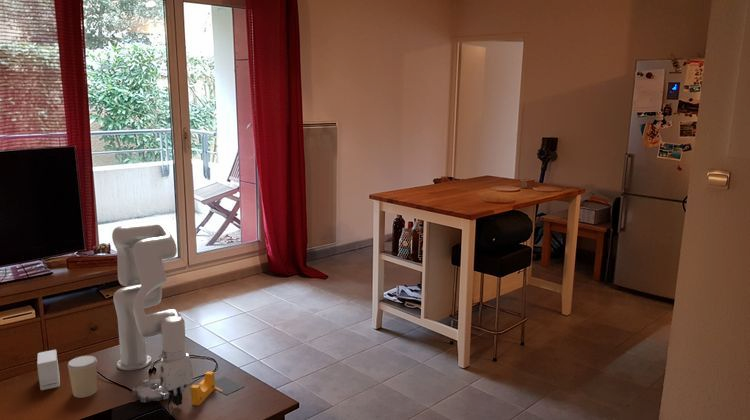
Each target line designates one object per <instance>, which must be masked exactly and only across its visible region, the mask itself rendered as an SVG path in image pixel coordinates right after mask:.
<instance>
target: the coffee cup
mask: <svg viewBox="0 0 750 420" xmlns="http://www.w3.org/2000/svg"><path fill="white" fill-rule="evenodd" d="M67 368H68V374H69V380H70V385H71V391H72V395H73V397H75V398H87V397H88V398H89V397H91V396H93V395H94V394H95V393H97V391H98V359H97V357H95V356H93V355H81V356H76V357H74V358H72V359H71V360H69V361H68V363H67Z"/></svg>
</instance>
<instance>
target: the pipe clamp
mask: <svg viewBox="0 0 750 420" xmlns="http://www.w3.org/2000/svg"><path fill="white" fill-rule="evenodd" d="M215 379H216V378H215V371H209V370H208V371H206V372H205V373H204V379H202V380H201V381H200V382H199V383H198V384H192V385H191V386H190V398H191V400H190V401H191V405H192V406H200V405H201V404H202V403H203V402H204V401H205V399H207V398H208V397H209V396H210V394H211V393H212V392H213V391H214V390H215Z"/></svg>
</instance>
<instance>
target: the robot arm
mask: <svg viewBox="0 0 750 420" xmlns="http://www.w3.org/2000/svg"><path fill="white" fill-rule="evenodd" d="M111 235H112V236H111V237H112V242H113V245H114V247H115V249H116V253H117V257H116V258H117V259H116V260H117V261H116V262H117V280H118V282H119V284H120V285H121V286H124V287H121V288H118V289H117V290H116V291H115V292H114V294H113V304H114V308H115V311H116V316H117V324H118V325H117V329H118V340H119V351H118V354H120V359H119V360H118V361H117V362H116V367H117V369H119V370H122V371H135V370H136V371H137V370H140V369H141V370H142V369H143V368H145V367H148V365H150V364H151V363H152V356H150V355H149V354H148V353H147V351H148V350H147V338H149V337H154V336H157V335H160V336H161V349H162V350H161V354H159V355H158V357H159V359H160V365H159V379H160V386H161V387H162V388H161V392H162V393H171V394H170V395H171V402H172V404H174V405H175V406H177V407H178V406H181V405H182V404H183V393H184V390H185V388H186V387H187V386H188V385H189V384H190V383H191V382H192V381H193V378H194V373H193V366H192V361H191V356H190V355H189V353H187V343H186V324H185V319H184V318H183V317H182V315H181V313H180V312H179V310H177V309H176V308H169V309H165V310H160V311H157V312H152V313H147V314H146V313H145V309H147V308H152V307H154V306H155V307H156V306H158V305H160V303H161V302H162V297H163V285H164V284H165V283H166V282H167V279H168V278H167V275H166V271H165V267H164V263H163V260H164V261H165V260H169V259H173V258H175V257H176V255H177V253H178V252H177V251H178V250H177V243H176V241H175V239H174V238H173V235H172V234H171V233H170V232H169V231H168V230H167V228H166V227H165V225H163V224H162V223H161V222H158V221H153V222H143V223H134V224H128V225H121V226H117V227H115V228H114V229H113V230H112V234H111Z"/></svg>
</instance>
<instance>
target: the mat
mask: <svg viewBox="0 0 750 420" xmlns="http://www.w3.org/2000/svg"><path fill="white" fill-rule="evenodd" d="M243 388H245V386H244V385H242V384H241V383H239V382H236V381H234V380H233V379H231V378H228V377H226V376H222V377H220V378H217V379H216V380H215V389H214V390H215V391H218V392H219V393H221V394H223V395H225V396H228V395H230V394H232V393H234V392H236V391H238V390H241V389H243Z"/></svg>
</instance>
